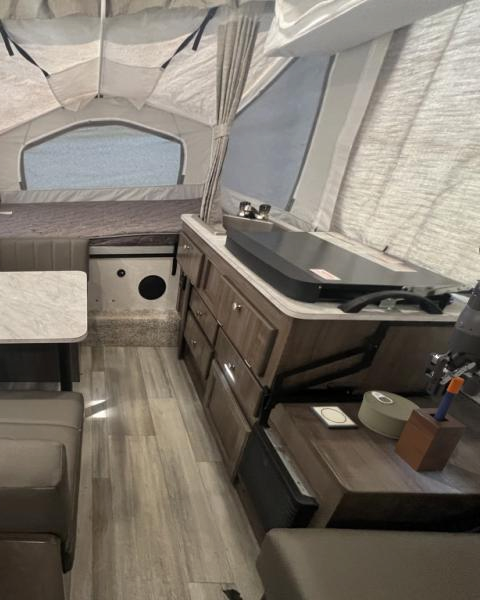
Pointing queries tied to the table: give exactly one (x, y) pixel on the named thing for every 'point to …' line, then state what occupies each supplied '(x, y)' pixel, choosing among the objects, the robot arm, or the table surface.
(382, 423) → the can
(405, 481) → the table surface
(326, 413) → the drawing pad
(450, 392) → the marker
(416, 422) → the pen stand
